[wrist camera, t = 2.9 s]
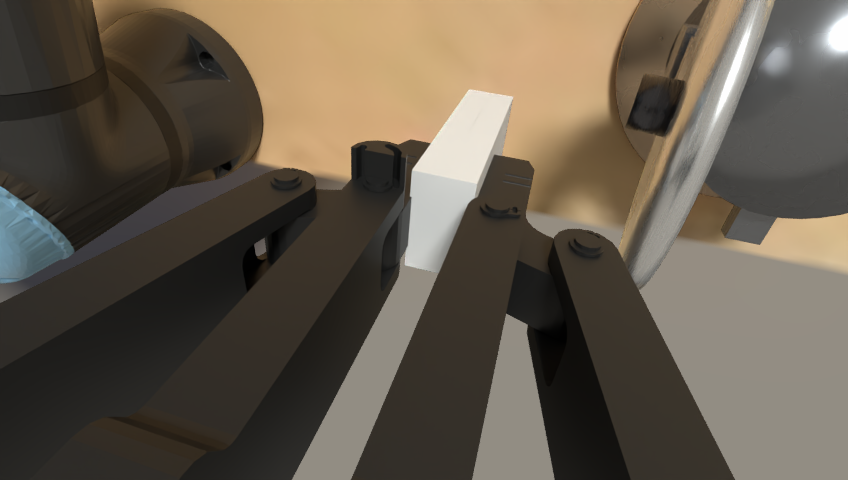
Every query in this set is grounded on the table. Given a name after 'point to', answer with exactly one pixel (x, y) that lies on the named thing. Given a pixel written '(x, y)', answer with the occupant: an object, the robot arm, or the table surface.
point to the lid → (688, 127)
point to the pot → (761, 109)
